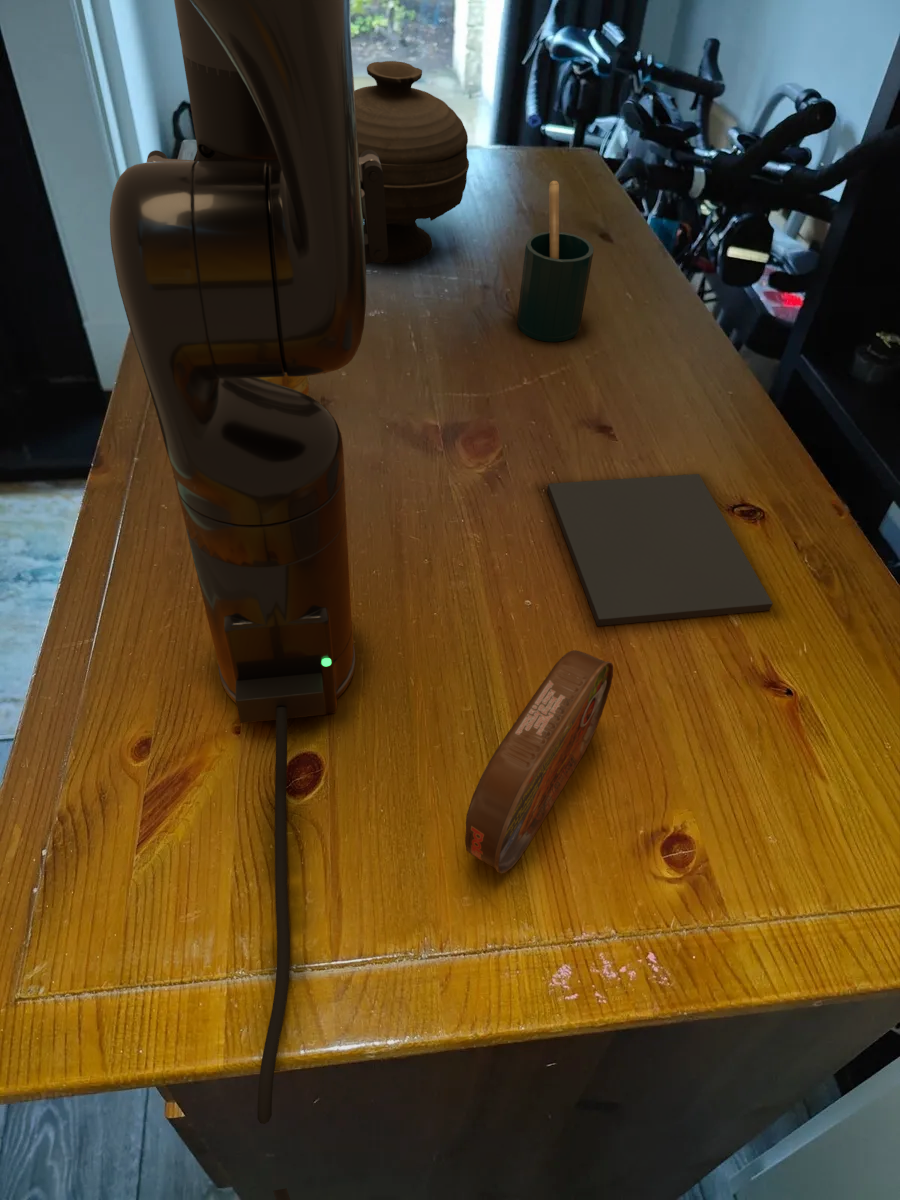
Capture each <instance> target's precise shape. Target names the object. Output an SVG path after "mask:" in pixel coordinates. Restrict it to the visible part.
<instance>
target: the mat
mask: <svg viewBox="0 0 900 1200" xmlns="http://www.w3.org/2000/svg"><path fill="white" fill-rule="evenodd" d="M546 492H547V494H548V496H549V500H550V502H551V505H552V508H553V510H554V513H555V516H556V518H557V521H558V523H559V527H560V529H561V532H562V535H563V537H564V540H565V542H566V546H567V548H568V551H569V553H570V556H571V558H572V559H571V560H572V562H573V564H574V567H575V570H576V572H577V575H578V577H579V581H580V584H581V586H582V589H583V592H584V594H585V597H586V600H587V602H588V605H589V607H590V610H591V612H592V615H593V619H594V621H595V623H596V626H597V627H603V626H612V625H624V624H625V625H626V624H634V623H647V622H656V621H657V622H658V621H668V620H669V621H670V620H677V619H679V620H680V619H689V618H690V619H691V618H702V617H711V616H722V615H733V614H744V613H745V614H746V613H754V612H755V613H756V612H767V611H770V610H771V609H772V606H773V600H772V599H771V598H770V596H769V594H768V593H767V590H766V589H765V587H764V585H763V584H762V582H761V580H760V578H759V576H758V575H757V573H756V571H755V570H754V567H753V566H752V564H751V563H750V561H749V559H748V558H747V556H746V554H745V551H744V550H743V549H742V547H741V545H740V543H739V542H738V540H737V538H736V536H735V534H734V533H733V531H732V529H731V528H730V526H729V524H728V522H727V521H726V519H725V517H724V515H723V514H722V512H721V510H720V508H719V507H718V505H717V503H716V501H715V500H714V497H713V496H712V494H711V492H710V491H709V488H708V487H707V486H706V483H705V482H704V480H703V479H702V476H701V475H700V473H696V474H695V473H693V474H691V473H689V474H676V475H663V476H661V475H660V476H659V475H658V476H646V477H629V478H614V479H601V480H584V481H583V480H582V481H569V482H553V483H552V482H551V483H548V484H547V489H546Z"/></svg>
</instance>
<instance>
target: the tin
mask: <svg viewBox="0 0 900 1200" xmlns="http://www.w3.org/2000/svg"><path fill="white" fill-rule="evenodd" d="M613 677H614V664H613V663H612V662H611V661H605V660H604V659H603V660H602V659H600V658H598V657H595V656H593V655H591V654H588V653H586V652H583V651H581V650H575V649H574V650H570V651H568V652H566V653H565V654H564V655H563V656H561V657H560V659H558V661H557V662H556V663H555V665H554V666H553V667H552V668H551V670H550V671H549V673H548V674H547V676H546V677H545V678H544V680H543V681H542V682H541V684H540V685H539V687H538V688H537V690H536V691H535V692H534V694H533V696H532V697H531V698H530V700H529V701H528V702H527V704H526V705H525V707H524V709H523V710H522V711H521V713H520V714H519V715H518V717H517V719H516V720H515V722H514V723H513V724H512V726H511V728H510V729H509V731H508V732H507V733H506V734H505V736H504V738H503V739H502V740H501V742H500V744H499V745H498V746H497V748H496V750H495V751H494V753H493V755H491V758H490V759H489V761H488V763H487V764H486V766H485V768H484V770H483V772H482V774H481V776H480V778H479V780H478V783H477V785H476V787H475V789H474V792H473V794H472V797H471V800H470V803H469V805H468V808H467V813H466V816H465V818H466V819H465V837H464V843H465V850H466V852H467V853H468V854H470V855H471V856H473V857H475V858H476V859H478V860H480V861H481V862H483V863H485V864H487V865H488V866H490V867H492V868H494V869H495V870H496V872H497V873H499V874H505V873H507V872H509V870H511V869H512V868H513V867H514V866H515V865H516V864H517V862H518V861H519V860H520V859H521V857H523V855H524V853H525V851H526V850H527V848H528V847H529V845H530V844H531V842H532V840H533V839H534V837H535V835H536V834H537V832H538V831H539V829H540V827H541V825H542V824H543V822H544V820H545V819H546V817H547V816H548V814H549V813H550V811H551V810H552V807H553V806H554V804H555V802H556V801H557V800H558V798H559V796H560V794H561V792H562V791H563V789H564V788H565V786H566V784H567V783H568V781H569V779H570V777H571V776H572V775H573V772H574V771H575V770H576V768H577V767H578V765H579V763H580V762H581V759H582V757H584V754H585V752H586V750H587V749H588V746H589V744H590V742H591V741H592V738H593V736H594V734H595V731H596V729H597V728H598V724H599V723H600V720H601V717H602V715H603V712H604V709H605V706H606V703H607V701H608V696H609V693H610V691H611V686H612V681H613Z"/></svg>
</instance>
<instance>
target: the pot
mask: <svg viewBox="0 0 900 1200" xmlns="http://www.w3.org/2000/svg"><path fill="white" fill-rule="evenodd" d="M366 73H367V75H368V76H369V77H371V78H373V80H374V81H375V83H376V84H375V85H370V86H369V85H368V86H363V87H360V88H357V89H354V93H355V108H356V123H357V138H358V152H359V157H360V155H361V154H362V153H363V152H364V151H366V150H373V151H374V152H376V153H377V155H378V157H379V160H380V164H381V167H382V172H383V178H384V194H385V210H386V226H387V242H388V257H387V259H386V260H385V261H384V262H382V263H384V264H403V263H410V262H413V261H418V260H420V259H422V258H424V257H426V256H427V255H429V254H430V253H431V251H432V250H433V240H432V237H431V235H430V234H429V233H428V232H427V231H426V230H424V229H423V228H422V227H419V226H418V225H417V220H427V219H429V220H430V222H432V221H434V220H436V219H438V218H439V217H441V216H443V215H445V214H446V213H447V212H449V211H451V210H453V209H454V208H456V207H457V206H459V205H461V202H462V200H463V196H464V191H465V190H466V187H467V186H466V185H467V176H468V172H469V168H470V161H469V159H468V144H469V138H468V131H467V129H466V127H465V126H464V123H463V121H462V119H461V118H460V117H459V116H458V114H457V113H456V112H455V111H454V110H453V108H452V107H450V106H449V105H448V104H447V103H446V102H445V101H444V100H442V99H441V98H439V97H437V96H435V95H433V94H432V93H429V92H427V91H425V90H421V89H418V88H413V87H412V85H413V84H414V83H416V82H418V81H419V80H420V79H421V78H422V75H423V69H420V68H419V67H415V66H414V65H412V64H410V63H407V62H404V61H396V60H395V61H394V60H385V61H374V62H371V63H369V64H368V65H367V66H366ZM362 210H363V199H362ZM363 220H364V211H363ZM364 234H365V224H364Z"/></svg>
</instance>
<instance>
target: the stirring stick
mask: <svg viewBox="0 0 900 1200" xmlns="http://www.w3.org/2000/svg"><path fill="white" fill-rule="evenodd" d="M548 195H549V196H548V198H549V199H548V200H549V201H548V209H549V210H548V211H549V214H548V215H549V216H548V219H549V220H548V222H549V224H548V226H549V231H548V232H549V239H550V258H554V259H559V232H560V184H559V181H557V180H552V181H550V183H549V185H548Z"/></svg>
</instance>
